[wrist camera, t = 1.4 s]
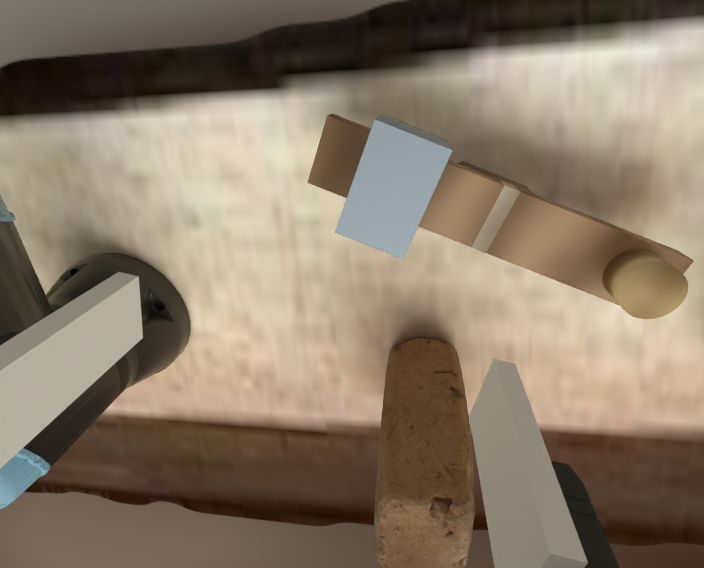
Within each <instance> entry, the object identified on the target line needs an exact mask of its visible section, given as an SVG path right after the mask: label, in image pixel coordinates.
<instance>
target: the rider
mask: <svg viewBox="0 0 704 568" xmlns="http://www.w3.org/2000/svg"><path fill="white" fill-rule="evenodd" d="M452 151H453V150H452V148H451V146H450V144H449V142H448V141H447V140H445V139H442V138H440V137H437V136H435V135H432V134H430V133H427V132H425V131H422V130H420V129H417V128H415V127H412V126H410V125H407V124H405V123H402V122H400V121H397V120H395V119H392V118H390V117H387V116H385V115H380V116H379V117H377V118H376V119H375V120H374V122H373V125H372V128H371V131H370V134H369V137H368V140H367V142H366V145H365V148H364V151H363V154H362V157H361V159H360V162H359V165H358V168H357V171H356V174H355V177H354V179H353V182H352V185H351V188H350V191H349V194H348V196H347V199H346V202H345V205H344V208H343V211H342V214H341V216H340V219H339V222H338V225H337V228H336V231H335V233H338V234H340V235H343V236H345V237H348V238H350V239H353V240H356V241H358V242H361V243H363V244H366V245H368V246H371V247H373V248H376V249H379V250H381V251H384V252H386V253H389V254H391V255H394V256H396V257H399V258H402V259H403V258H404V256H405V254H406V252H407V250H408V247H409V245H410V243H411V241H412V239H413V236H414V234H415V232H416V230H417V228H418V225H419V223H420V221H421V219H422V217H423V214H424V212H425V210H426V208H427V206H428V203H429V201H430V199H431V197H432V195H433V192H434V190H435V188H436V186H437V184H438V181H439V179H440V177H441V175H442V173H443V170H444V168H445V166H446V164H447V162H448V159H449V157H450V155H451V153H452Z"/></svg>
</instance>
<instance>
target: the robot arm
mask: <svg viewBox="0 0 704 568" xmlns="http://www.w3.org/2000/svg"><path fill="white" fill-rule="evenodd" d="M14 220H16V219H15V216H14V214H13V213H11V212H9V211H8V209H7V207H6V205H5V203H4V201H3V199H2V197H1V195H0V509H1V508H4V507H5V506H7V505H8V504H10V503H11V502H13V501H14V500H15V499H16V498H17V497H18V496H19V495H20V494H22V493H23V492H24V491H25V490H26V489H27V488H28V487H29V486H30V485H31V484H32V483H33V482H35V481H36V480H37V479H38V478H39V477H40V476H43V475H45V474H46V473H47V472H48V470H49V469H50V468H51V466H52V465H53V464H54V463H55V462H56V461H57V460H58V459H59V458H60V457H61V456H62V455H63V454H64V453H65V452H66V451H67V450H68V449H69V448H70V446H71V445H72V444H73V443H74V442H75V441H76V440H77V439H78V438H79V437H80V436H81V435H82V434H83V433H84V432H85V431H86V430H87V429H88V428H89V426H90V425H91V424H92V423H93V422H94V421H95V420H96V419H97V418H98V417H99V416H100V415H101V414H102V413H103V412H104V411H105V410H106V409H107V407H108V406H109V405H110V404H111V403H112V402H113V401H114V400H115V399H116V398H117V397H118V396H119V395H120V394H121V393H122V392H123V391H124V390H125V389H126V388H128V387H130V386H132V385H134V384H136V383H138V382H140V381H142V380H144V379H146V378H148V377H150V376H152V375H153V374H155V373H158V372H160V371H162V370H164V369H165V368H167V367H168V366H169V365H170V364H172V363H173V361H174V360H175V359H176V358H177V357H178V356H179V355H180V354H181V353H182V351H183V350H184V349H185V347H186V345H187V343H188V340H189V336H190V320H189V315H188V312H187V309H186V307H185V304H184V302H183V300H182V298H181V297H180V295H179V294H178V292H177V291H176V289H175V288H174V287H173V286H172V284H171V283H170V282H169V281H168V280H167V279H166V278H165V277H164V276H163V275H161V274H160V273H159V272H158V271H156V270H155V269H154V268H152V267H151V266H149V265H147V264H146V263H144V262H142V261H140V260H137V259H135V258H132V257H129V256H126V255H121V254H114V253H104V254H98V255H94V256H91V257H89V258H87V259H85V260H83V261H81V262H79V263H77V264H75V265H73V266H72V267H70V268H69V269H68V270H67V271H65V272H64V273H63V275H62V276H61V277H60V278H59V279H58V281H57V282H56V283H55V284H54V285H53V287H52V288H51V289H50V290H49V292H48V293H47V294H46V295H45V293H44V291H43V289H42V286H41V284H40V282H39V279H38V277H37V275H36V273H35V270H34V268H33V266H32V263H31V261H30V259H29V256H28V254H27V252H26V250H25V247H24V245H23V243H22V240H21V238H20V236H19V233H18V231H17V229H16V227H15V224H14V222H13V221H14ZM469 417H470V423H471V429H472V435H473V441H474V447H475V453H476V459H477V465H478V471H479V477H480V483H481V489H482V495H483V501H484V507H485V513H486V519H487V525H488V531H489V537H490V542H491V549H492V554H493V561H494V566H495V568H619V566H618V563H617V561H616V559H615V556H614V554H613V552H612V549H611V547H610V545H609V542H608V540H607V538H606V535H605V533H604V531H603V528H602V526H601V524H600V521H599V520H597V514H596V512H595V510H594V507H593V505H591V503H590V502H591V500H590V498H589V496H588V493H587V491H586V489H585V486H584V484H583V482H582V481H581V480H580V478H579V477H578V476H577V475H576V473H575V472H574V471H573V469H572V468H571V467H570V466H569V465H567V464H563V463H559V462H555V461H551V460H550V458H549V455H548V452H547V449H546V447H545V444H544V441H543V438H542V436H541V433H540V430H539V428H538V425H537V422H536V419H535V417H534V414H533V411H532V408H531V406H530V403H529V400H528V397H527V395H526V392H525V389H524V387H523V384H522V381H521V378H520V376H519V373H518V370H517V367H516V365H515V364H513V363H509V362H505V361H500V360H496V359H493V362H492V364H491V366H490V369H489V371H488V373H487V376H486V378H485V380H484V383H483V385H482V387H481V390H480V392H479V394H478V397H477V399H476V401H475V404H474V406H473V408H472V411H471V413H470V415H469Z"/></svg>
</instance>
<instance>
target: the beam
mask: <svg viewBox="0 0 704 568" xmlns="http://www.w3.org/2000/svg"><path fill="white" fill-rule="evenodd" d="M370 131H371V129H370V128H367V127H365V126H362V125H360V124H357V123H355V122H352V121H350V120H347V119H345V118H342V117H340V116H337V115H335V114H331V115H328V116H327V119H326V122H325V126H324V129H323V132H322V136H321V139H320V143H319V146H318V149H317V153H316V156H315V159H314V163H313V166H312V169H311V173H310V176H309V180H308V183H310V184H312V185H315V186H317V187H320V188H322V189H325V190H328V191H330V192H333V193H335V194H338V195H340V196H343V197H345V198H347V196H348V194H349V191H350V188H351V185H352V182H353V179H354V177H355V174H356V171H357V168H358V165H359V162H360V159H361V157H362V154H363V151H364V148H365V145H366V142H367V140H368V137H369V134H370ZM418 226H419V227H422V228H424V229H427V230H429V231H432V232H434V233H437V234H439V235H442V236H445V237H447V238H450V239H452V240H455V241H457V242H460V243H462V244H465V245H467V246H470V247H472V248H474V249H477V250H479V251H482V252H485V253H488V254H490V255H493V256H495V257H498V258H500V259H503V260H506V261H508V262H511V263H513V264H516V265H518V266H521V267H523V268H526V269H528V270H531V271H534V272H536V273H539V274H541V275H544V276H546V277H549V278H551V279H554V280H556V281H559V282H562V283H564V284H567V285H569V286H572V287H574V288H577V289H579V290H582V291H584V292H587V293H589V294H592V295H595V296H597V297H600V298H602V299H605V300H607V301H610V302H612V303H615V304H617V305H620V306H621V307H622V308H623V309H624V310H625V311H626V312H627V313H628V314H630V315H631V316H634V317H636V318H641V319H653V318H658V317H661V316H664V315H666V314H668V313H670V312H672V311H673V310H675V309H676V308H677V307H678V306H679V305H680V304H681V303H682V302H683V300H684V298H685V296H686V294H687V290H688V283H687V280H686V278H685V276H684V275H683V273H684V272H685V271H686V270H687V268H688V267H689V266H690V265H691V264H692V263H693V260H692V259H690V258H689V257H687V256H685V255H684V254H682V253H681V252H679V251H677V250H675V249H672V248H670V247H667V246H665V245H662V244H660V243H657V242H655V241H652V240H650V239H647V238H644V237H642V236H639V235H637V234H634V233H632V232H629V231H627V230H624V229H622V228H619V227H617V226H614V225H612V224H609V223H607V222H604V221H602V220H599V219H597V218H594V217H592V216H589V215H587V214H584V213H582V212H579V211H576V210H574V209H571V208H569V207H566V206H564V205H561V204H559V203H556V202H554V201H551V200H549V199H546V198H544V197H541V196H539V195H536V194H534V193H532V192H531V191H530V190H529V189H528V188H527V187H526V186H523V185H521V184H518V183H515V182H513V181H510V180H508V179H505V178H503V177H500V176H498V175H495V174H493V173H490V172H488V171H485V170H483V169H480V168H478V167H475V166H473V165H470V164H468V163H465V162H463V161H462V162H461V164H458V163H456V162H453V161H451V160H448V162H447V164H446V166H445V168H444V170H443V173H442V175H441V177H440V179H439V181H438V184H437V186H436V188H435V190H434V192H433V195H432V197H431V199H430V201H429V203H428V206H427V208H426V210H425V212H424V214H423V217H422V219H421V221H420V223H419V225H418Z"/></svg>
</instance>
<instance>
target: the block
mask: <svg viewBox="0 0 704 568" xmlns="http://www.w3.org/2000/svg"><path fill="white" fill-rule="evenodd" d="M474 515H475V504H474V490H473V457H472V446H471V437H470V424H469V416H468V411H467V402H466V396H465V389H464V383H463V378H462V372H461V367H460V363H459V359H458V355H457V351H456V349H455V348H454V346H453V345H451V344H449V343H446V342H441V341H438V340H435V339H427V338H414V339H411V340H408V341H407V342H405V343H402V344H399V345H396V346H394V347H393V348H392V349H391V351H390V353H389V358H388V364H387V372H386V380H385V389H384V399H383V409H382V420H381V435H380V447H379V464H378V474H377V484H376V499H375V515H374V525H375V549H376V555H377V560H378V561H379V562H380V564H381V565H382V566H383V568H464V567H465V565H466V562H467V558H468V551H469V545H470V541H471V536H472V529H473V520H474Z"/></svg>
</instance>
